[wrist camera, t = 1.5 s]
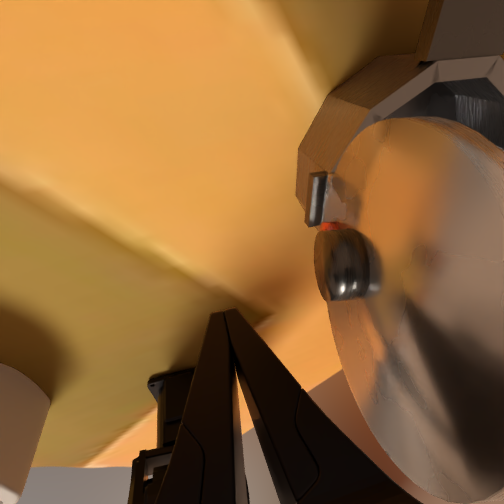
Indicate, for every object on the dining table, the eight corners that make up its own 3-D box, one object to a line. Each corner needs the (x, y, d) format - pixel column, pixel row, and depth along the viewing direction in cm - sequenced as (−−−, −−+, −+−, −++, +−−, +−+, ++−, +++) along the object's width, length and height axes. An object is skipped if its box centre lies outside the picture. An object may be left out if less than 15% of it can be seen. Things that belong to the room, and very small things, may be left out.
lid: (323, 277, 18) (293, 279, 18) (355, 83, 11) (306, 87, 11) (424, 531, 9) (363, 538, 9) (1000, 324, 2) (716, 352, 2)
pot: (413, 241, 25) (450, 271, 22) (282, 269, 23) (301, 306, 20) (516, -10, 14) (616, -24, 11) (290, 0, 12) (334, -14, 9)
